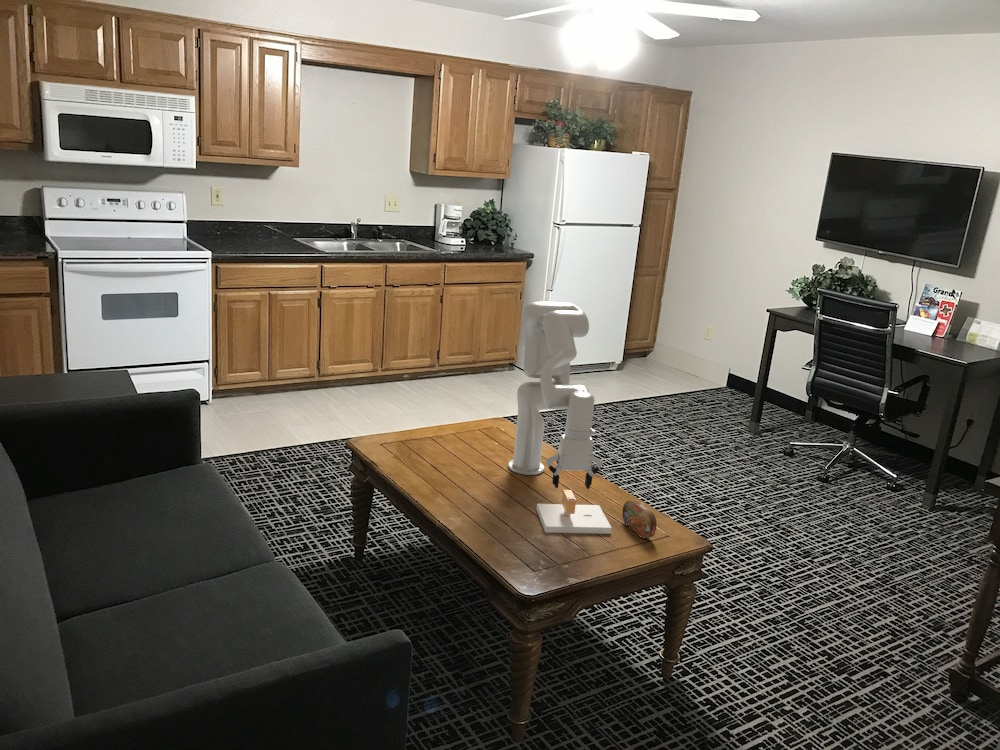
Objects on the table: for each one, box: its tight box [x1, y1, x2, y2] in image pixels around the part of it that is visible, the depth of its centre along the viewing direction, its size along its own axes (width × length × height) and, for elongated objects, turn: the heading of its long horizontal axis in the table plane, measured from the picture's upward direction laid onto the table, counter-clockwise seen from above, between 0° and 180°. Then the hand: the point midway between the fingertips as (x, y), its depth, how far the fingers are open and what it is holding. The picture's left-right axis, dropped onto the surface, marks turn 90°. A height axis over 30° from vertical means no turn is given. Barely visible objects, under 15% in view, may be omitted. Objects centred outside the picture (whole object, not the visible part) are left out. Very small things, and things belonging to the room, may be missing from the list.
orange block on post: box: [561, 489, 577, 514], centre depth 243 cm, size 7×2×5 cm, turn 8°
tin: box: [622, 500, 658, 539], centre depth 242 cm, size 15×3×8 cm, turn 23°
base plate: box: [536, 503, 612, 535], centre depth 245 cm, size 15×20×4 cm
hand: (571, 486), depth 241 cm, fingers open, 9 cm apart
